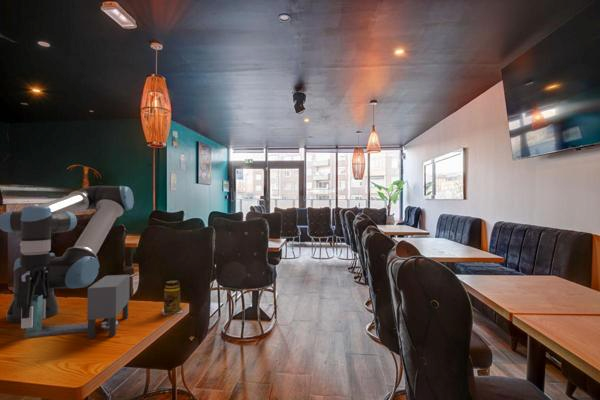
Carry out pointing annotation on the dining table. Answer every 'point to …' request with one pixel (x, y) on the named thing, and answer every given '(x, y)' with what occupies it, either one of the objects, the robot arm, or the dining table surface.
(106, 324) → the token
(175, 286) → the condiment
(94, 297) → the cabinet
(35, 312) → the l-shaped tool
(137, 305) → the dining table surface
